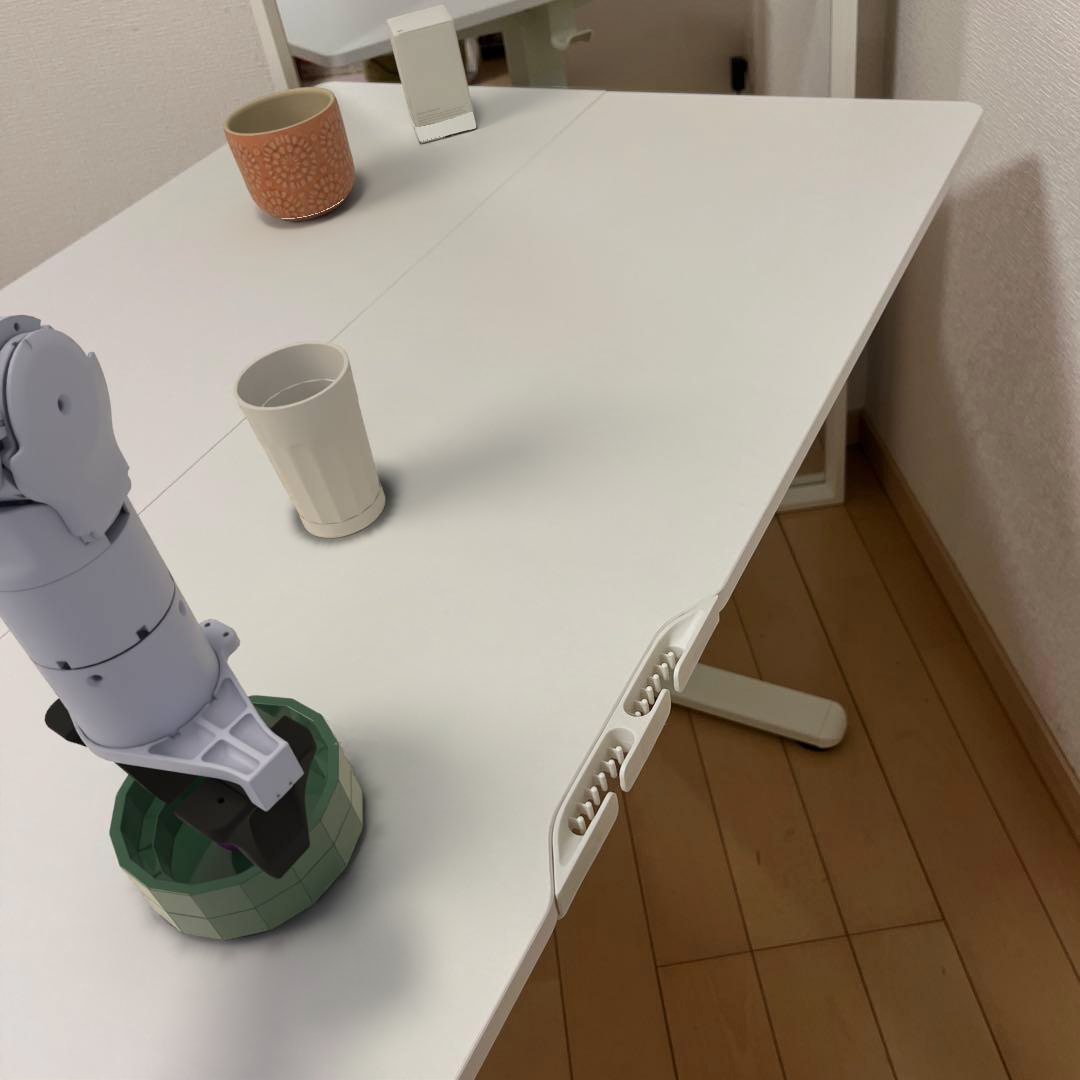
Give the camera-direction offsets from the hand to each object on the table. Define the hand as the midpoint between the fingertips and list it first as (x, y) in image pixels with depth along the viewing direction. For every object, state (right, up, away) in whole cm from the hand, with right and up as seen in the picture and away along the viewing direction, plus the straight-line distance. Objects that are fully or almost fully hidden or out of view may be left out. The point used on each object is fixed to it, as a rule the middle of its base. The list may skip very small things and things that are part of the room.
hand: (233, 821), depth 50 cm
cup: (-1, +15, +32) cm, 35 cm away
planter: (-12, +50, +74) cm, 90 cm away
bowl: (-2, -4, +11) cm, 12 cm away
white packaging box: (+2, +63, +84) cm, 105 cm away
